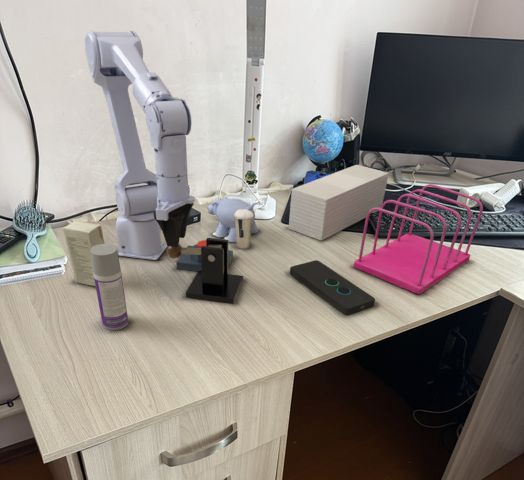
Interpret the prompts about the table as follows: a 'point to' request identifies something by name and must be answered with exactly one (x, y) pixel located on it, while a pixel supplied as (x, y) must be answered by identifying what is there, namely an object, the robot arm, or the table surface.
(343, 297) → the smart home device
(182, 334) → the table surface
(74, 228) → the cosmetic box
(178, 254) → the lever
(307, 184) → the stack of papers
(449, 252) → the file sorter
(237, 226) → the milkshake
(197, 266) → the button box
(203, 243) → the button
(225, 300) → the switch bracket
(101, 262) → the container
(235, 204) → the hippopotamus toy
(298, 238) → the table surface
